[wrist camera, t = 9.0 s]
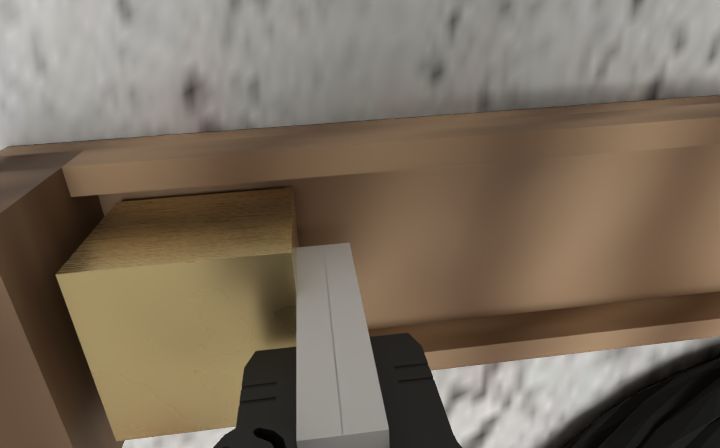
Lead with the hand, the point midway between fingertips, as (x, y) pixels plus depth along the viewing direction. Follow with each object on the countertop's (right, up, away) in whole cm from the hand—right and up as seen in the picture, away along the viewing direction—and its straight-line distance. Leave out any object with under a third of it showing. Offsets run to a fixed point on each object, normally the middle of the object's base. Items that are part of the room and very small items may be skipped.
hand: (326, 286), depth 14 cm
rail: (+6, +2, +3) cm, 7 cm away
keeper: (-3, 0, +1) cm, 4 cm away
